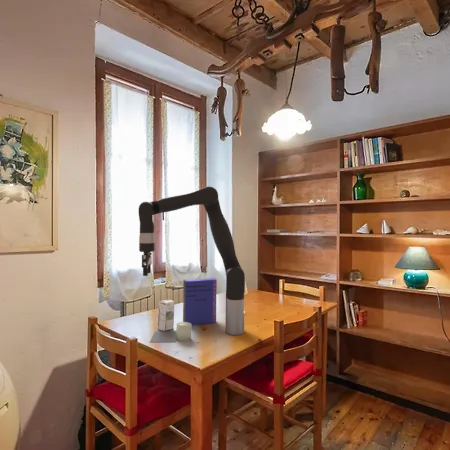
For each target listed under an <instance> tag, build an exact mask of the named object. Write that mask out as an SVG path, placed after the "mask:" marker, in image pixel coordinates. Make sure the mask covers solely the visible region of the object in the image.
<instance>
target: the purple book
mask: <svg viewBox="0 0 450 450" xmlns="http://www.w3.org/2000/svg"><path fill="white" fill-rule="evenodd" d="M182 282H183V283H182V290H183V292H182V293H183V294H182V296H183V297H182V298H183V299H182V322H188V323H191V324H192V326H198V325H207V324H209V325H210V324H216V323H217V287H218V286H217V285H218V284H217V283H218V282H217V279H216V278H213V277H211V278H192V279H183V281H182Z"/></svg>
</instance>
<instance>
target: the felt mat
mask: <svg viewBox="0 0 450 450" xmlns="http://www.w3.org/2000/svg"><path fill="white" fill-rule="evenodd" d="M177 341H178V340H176V330H167V331H163V330H160V331H158V330H155V331H154V332H153V334H152V336H151V339H150V341H149V343H177Z"/></svg>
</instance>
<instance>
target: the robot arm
mask: <svg viewBox="0 0 450 450" xmlns="http://www.w3.org/2000/svg"><path fill="white" fill-rule="evenodd" d="M219 200H220V199H219V192H218V190H217V189H216V188H215V187H213V186H205V187H203V188H201V189H198V190H196V191H192V192H190V193H185V194H179V195H174V196H168V197H164V198H159V199H158V200H153V201H143V202H141V203H140V204H139V206H138V219H139V236H138V237H139V238H138V251H139V252H141V253H143V254H142V255H141V268H142V276H143V277H148V275H149V274H151V273H152V272H151V271H152V270H151V266H152V264H153V262H152V261H153V259H152V258H153V257H152V255H153V254H152V253H153V252H155V251H156V248H155V245H156V243H155V241H156V240H155V223H154V217H153V216H156V215H159V214H162V213H163V214H164V213H169V212H174V211H178V210H181V209H184V208H188V207H192V206H200V205H203V206H204V209H205V211H206V214H207V216H208V222H209V227H210V232H211V235H212V238H213V240H214V244H215V247H216V249H217V251H218V253H219V254H220V257H221V259H222V263H223V266H224V271H225V276H226V279H225V284H226V286H225V334H227V335H233V336H236V335H237V336H238V335H244V334H245V293H246V291H245V287H246V274H245V272H244V270H243V268H242V266H241V264H240V262H239V260H238V257H237V254H236V250H235V242H234V239H233V235H232V232H231V230H230V227H229V225H228V222H227V220H226V218H225V216H224V214H223V212H222V209H221V204H220V201H219Z"/></svg>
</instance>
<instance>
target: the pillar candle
mask: <svg viewBox="0 0 450 450" xmlns="http://www.w3.org/2000/svg"><path fill="white" fill-rule="evenodd" d="M192 326H193V325H192V324H191V323H188V322H183V321H178V322H177V323H176V330H175V331H176V340H177V341H178V342H183V343H184V342H188V341H190V340H191V337H192Z"/></svg>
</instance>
